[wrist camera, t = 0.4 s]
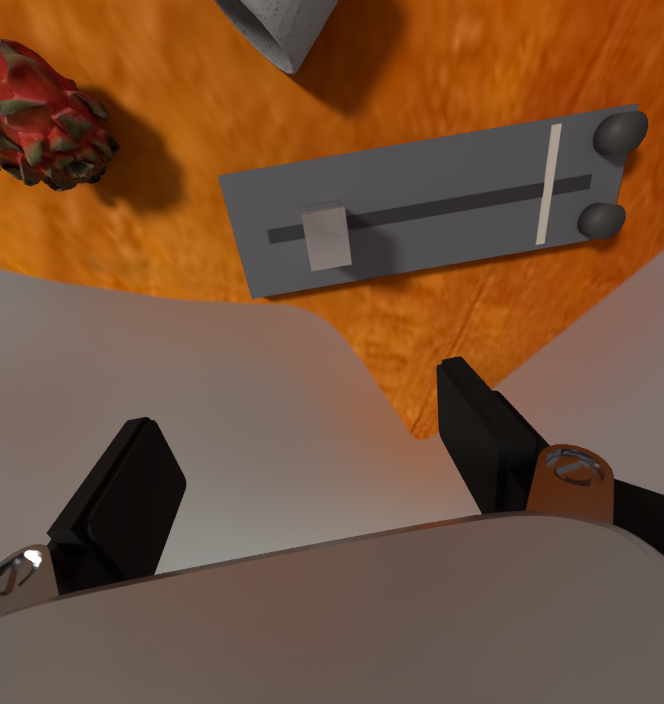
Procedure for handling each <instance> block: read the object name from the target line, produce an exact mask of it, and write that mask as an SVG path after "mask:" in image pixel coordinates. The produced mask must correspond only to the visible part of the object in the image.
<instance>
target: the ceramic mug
mask: <svg viewBox="0 0 664 704" xmlns="http://www.w3.org/2000/svg"><path fill="white" fill-rule="evenodd" d="M214 1H215V2H216V3H217V5H218V6H219V7H220V9H221V10H222V11H223V13H224V14H225V15H226V16H227V17H228V19H229V20H230V21H231V22H232V23H233V25H234V26H235V27H236V28H237V29H238V30H239V31H240V32H241V33H242V34H243V35H244V36H245V37H246V38H247V40H248V41H249V42H250V43H251V44H252V45H253V46H254V47H255V48H256V49H257V50H258V51H259V52H260V53H261V54H262V55H263V56H264V57H265V58H267V59H268V60H269V61H270V62H272V63H273V64H274V65H275V66H277V67H278V68H279V69H281V70H282V71H284V72H285V73H289V74H295V73H296V72H297V71H298V69H299V68H300V66H301V64H302V63H303V61H304V59H305V57H306V55H307V54H308V52H309V50H310V49H311V47H312V45H313V44H314V42H315V40H316V39H317V37H318V35H319V34H320V32H321V30H322V28H323V27H324V25H325V23H326V21H327V19H328V17H329V16H330V14H331V12H332V11H333V9H334V7H335V6H336V4H337V3H338V1H339V0H214Z"/></svg>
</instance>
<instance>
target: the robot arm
mask: <svg viewBox="0 0 664 704" xmlns="http://www.w3.org/2000/svg"><path fill="white" fill-rule="evenodd" d="M437 395H438V422H439V433H440V437H441V439H442V441H443V443H444V445H445V446H446V448H447V450H448V452H449V454H450V456H451V458H452V459H453V461H454V463H455V465H456V467H457V469H458V471H459V472H460V474H461V476H462V478H463V480H464V481H465V483H466V485H467V487H468V489H469V491H470V492H471V494H472V496H473V498H474V500H475V502H476V504H477V505H478V507H479V509H480V511H481V513H482V514H481V515H474V516H467V517H462V518H456V519H450V520H443V521H437V522H432V523H425V524H419V525H414V526H409V527H403V528H398V529H392V530H387V531H382V532H376V533H370V534H365V535H360V536H355V537H349V538H344V539H339V540H333V541H327V542H322V543H317V544H312V545H306V546H301V547H296V548H290V549H285V550H280V551H275V552H269V553H264V554H259V555H254V556H249V557H244V558H239V559H233V560H228V561H223V562H218V563H212V564H208V565H202V566H198V567H192V568H187V569H182V570H177V571H172V572H167V573H162V574H157V575H154V574H155V571H156V568H157V565H158V563H159V560H160V557H161V555H162V552H163V549H164V547H165V544H166V541H167V538H168V536H169V533H170V530H171V527H172V524H173V522H174V519H175V517H176V514H177V511H178V509H179V506H180V503H181V500H182V498H183V495H184V492H185V489H186V479H185V476H184V474H183V472H182V471H181V469H180V467H179V465H178V463H177V461H176V459H175V457H174V455H173V453H172V451H171V449H170V447H169V445H168V443H167V442H166V440H165V438H164V436H163V434H162V432H161V430H160V428H159V426H158V424H157V423H156V421H154V420H150V418H148V417H143V418H138V419H133V420H128V421H127V422H126V423H125V424H124V425H123V427H122V428H121V430H120V431H119V432H118V434H117V435H116V437H115V438H114V439H113V441H112V442H111V444H110V445H109V446H108V448H107V449H106V451H105V452H104V454H103V455H102V456H101V458H100V459H99V460H98V462H97V463H96V465H95V466H94V467H93V469H92V470H91V472H90V473H89V474H88V476H87V477H86V479H85V480H84V481H83V483H82V484H81V486H80V487H79V488H78V490H77V491H76V493H75V494H74V496H73V497H72V498H71V500H70V501H69V502H68V504H67V505H66V507H65V508H64V510H63V511H62V512H61V514H60V515H59V517H58V518H57V519H56V521H55V522H54V523H53V525H52V526H51V528H50V529H49V531H48V532H47V534H48V535H49V537H50V538H51V540H50V542H49V543H48V545H47V546H46V545H43V544H35V545H31V546H28V547H25V548H22V549H20V550H18V551H17V552H15V553H13V554H11V555H10V556H8V557H7V558H6V559H4V560H3V561H1V562H0V704H664V495H662V494H659V493H656V492H653V491H650V490H647V489H644V488H641V487H638V486H635V485H632V484H629V483H626V482H623V481H619V480H616V479H614V475H613V471H612V469H611V467H610V466H609V465H608V463H607V462H606V461H605V460H604V459H602V458H601V457H599V455H597V454H595V453H593V452H591V451H590V450H587V449H584V448H581V447H578V446H574V445H567V444H556V445H552V446H550V445H549V444H548V443H547V442H546V441H545V440H544V439H543V438H542V437H541V436H540V435H539V434H538V433H537V431H536V430H535V429H534V428H533V427H532V426H531V425H530V424H529V423H528V422H527V421H526V420H525V419H524V418H523V416H522V415H521V414H520V413H519V412H518V411H517V410H516V409H515V408H514V407H513V406H512V405H511V404H510V403H509V402H508V400H506V398H505V397H504V396H503V395H502V394H501V393H500V392H498V391H492V390H491V389H490V388H489V387H488V386H487V384H486V383H485V382H484V381H483V380H482V379H481V378H480V377H479V376H478V375H477V373H476V372H475V371H474V370H473V369H472V368H471V367H470V366H469V365H468V363H467V362H466V361H465V360H464V359H463V358H462V357H454V358H449V359H444V360H442V364H441V365H437Z"/></svg>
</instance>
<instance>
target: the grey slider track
mask: <svg viewBox="0 0 664 704" xmlns="http://www.w3.org/2000/svg"><path fill="white" fill-rule="evenodd" d="M638 105H639V103H638V104H632V105H626V106H621V107H615V108H609V109H603V110H597V111H591V112H586V113H580V114H574V115H568V116H562V117H557V118H551V119H545V120H539V121H533V122H527V123H522V124H516V125H510V126H504V127H498V128H493V129H487V130H481V131H475V132H469V133H464V134H458V135H452V136H446V137H440V138H434V139H429V140H423V141H417V142H411V143H405V144H400V145H394V146H388V147H382V148H376V149H370V150H365V151H359V152H353V153H347V154H341V155H336V156H330V157H324V158H318V159H312V160H307V161H301V162H295V163H289V164H283V165H277V166H272V167H266V168H260V169H254V170H248V171H243V172H237V173H231V174H225V175H219V176H218V178H219V182H220V185H221V189H222V193H223V196H224V200H225V203H226V207H227V211H228V214H229V218H230V221H231V225H232V229H233V232H234V236H235V239H236V243H237V247H238V250H239V254H240V257H241V261H242V265H243V268H244V272H245V275H246V279H247V283H248V286H249V290H250V294H251V297H252V299H254V298H260V297H265V296H271V295H277V294H283V293H289V292H294V291H300V290H306V289H312V288H317V287H323V286H329V285H335V284H340V283H346V282H352V281H358V280H364V279H369V278H375V277H381V276H387V275H392V274H398V273H404V272H410V271H415V270H421V269H427V268H433V267H439V266H444V265H450V264H456V263H462V262H467V261H473V260H479V259H485V258H490V257H496V256H502V255H508V254H514V253H519V252H525V251H531V250H537V249H542V248H548V247H554V246H560V245H565V244H571V243H577V242H583V241H589V240H594V239H608V238H610V237H612V236H614V235H615V234H616V233H617V232H618V231H619V230H620V229H621V227H622V226H623V224H624V222H625V218H626V213H625V210H624V208H623V207H622V206H620V205H616V201H617V196H618V192H619V188H620V183H621V179H622V175H623V170H624V166H625V161H626V157H627V153H629V152H631V151H633V150H634V149H635V148H637V147H638V146H639V145H640V143H641V142H642V141H643V139H644V137H645V135H646V133H647V129H648V119H647V117H646V115H645V114H644V113H643V112H641V111H637V109H638ZM330 202H337V203H338V204H339V205H340V206H344V207H345V213H346V221H347V229H348V238H349V246H350V254H351V262H352V264H351V265H346V266H340V267H334V268H328V269H323V270H317V271H311V266H310V260H309V255H308V249H307V244H306V238H305V233H304V227H303V222H302V216H301V213H303V212H302V207H307V206H313V205H318V204H324V203H330Z"/></svg>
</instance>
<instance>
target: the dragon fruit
mask: <svg viewBox="0 0 664 704" xmlns="http://www.w3.org/2000/svg"><path fill="white" fill-rule="evenodd" d="M108 117H109V113H108V112H107V111H106V109H105V108H104V107H103V105H102V104H101V103H100V102H98V101H97V100H95V99H93V98H92V97H90V96H89V95H87V94H86V93H85V92H82V91H81V92H79V91H78V89H77V87H76V84H75V82H74V80H71V79H67V78H65V77H63V76H61V75H60V74H59V73H57V72H56V71H55V70H54V69H53V68H52V67H51V66H50V65H49V64H48V63H47V62H46V61H45V60H44V59H42V58H41V57H40V56H39V55H38V54H37V53H36V52H34V51H32V50H31V49H29V48H27V47H26V46H24V45H22V44H20V43H18V42H16V41H12V40H7V39H1V43H0V166H1V168H2V169H4V170H5V171H7V172H8V173H10V174H11V175H13V176H14V177H16V179H18V180H23V182H24V184H25V185H28V186H33V185H34V184H38V183H39V182H40V180H42V181H43V182H44V183H45V184H47V185H49V187H50V188H51V189H53V190H55V191H64V190H69V189H72V188H74V187H76V185H77V183H85V182H88V183H90V184H93V183H96V182H98V181H99V180H100V176H101V175H104V174H105V172H106V170H107V163H106V162H105V161H104V160H103V159H102V158H103V157H107V161H108V163H109V161H110V159H111V155H112V156H113V157H114V156H115V155H116V154H117V151H118V149H119V145H118V144H117V142H116V141H115V139H114V138H113V137H112V135H111V134H110V133H109V132H108V131H107V130H106V129H104V128H102V127H100V126H99V125H98V119H99V118H101V119H102V120H104V121H107V120H108ZM0 171H1V169H0Z"/></svg>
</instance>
